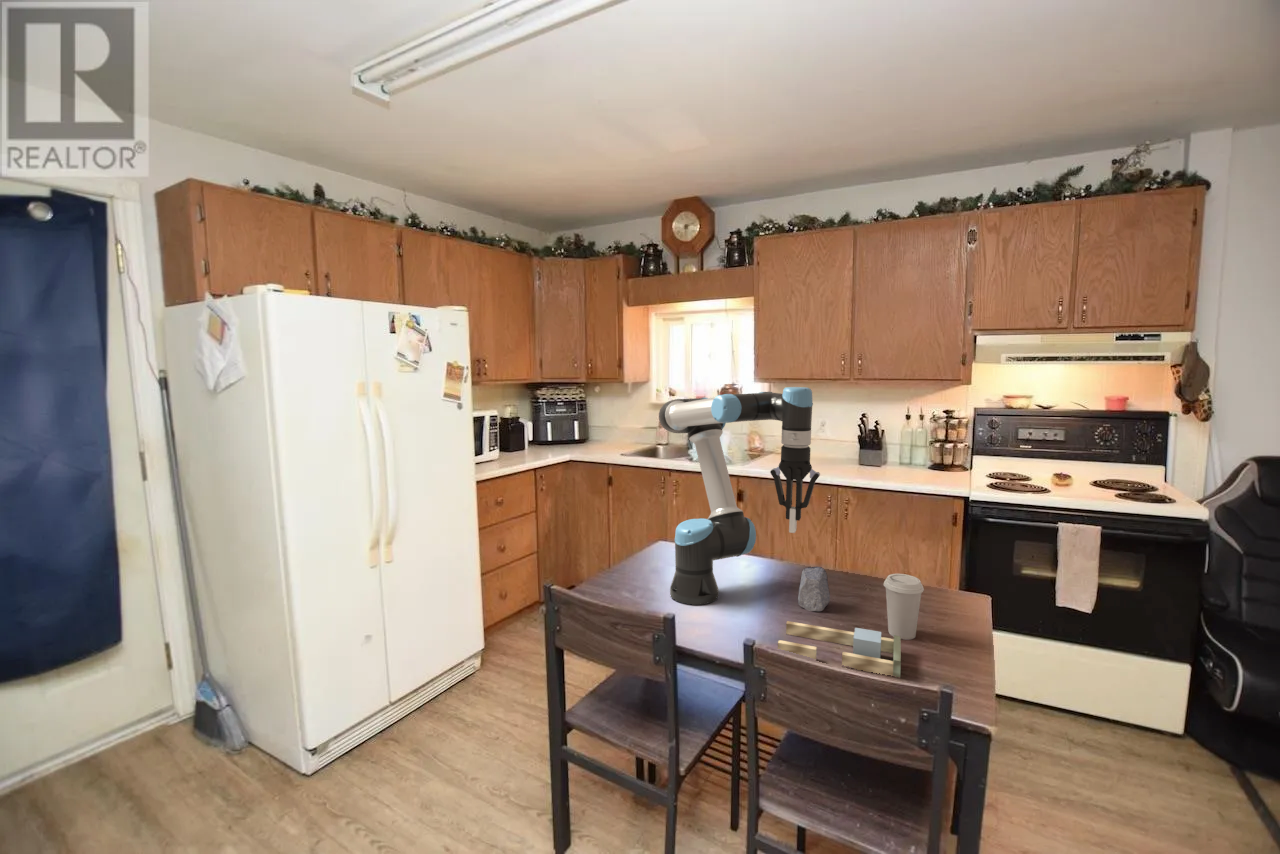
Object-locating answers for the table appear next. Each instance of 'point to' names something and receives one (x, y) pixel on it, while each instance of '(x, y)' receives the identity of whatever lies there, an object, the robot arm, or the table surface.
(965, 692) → the table surface
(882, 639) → the channel
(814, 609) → the stone
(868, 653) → the block
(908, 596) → the coffee cup
